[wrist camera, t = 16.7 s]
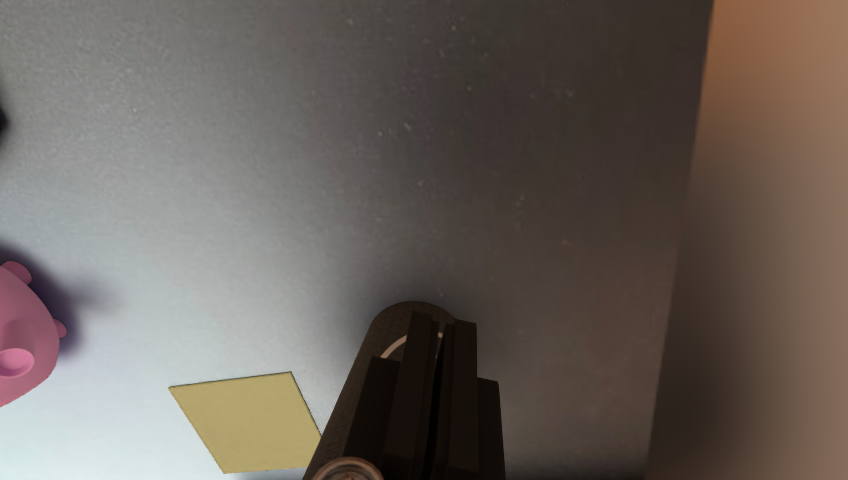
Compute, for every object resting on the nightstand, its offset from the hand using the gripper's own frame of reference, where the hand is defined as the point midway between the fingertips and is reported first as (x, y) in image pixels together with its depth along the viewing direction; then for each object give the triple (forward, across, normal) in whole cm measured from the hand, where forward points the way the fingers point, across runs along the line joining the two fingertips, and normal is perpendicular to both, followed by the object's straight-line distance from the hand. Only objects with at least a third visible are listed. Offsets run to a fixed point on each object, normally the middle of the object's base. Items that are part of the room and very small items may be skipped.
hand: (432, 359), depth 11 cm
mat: (+13, +11, +23) cm, 29 cm away
